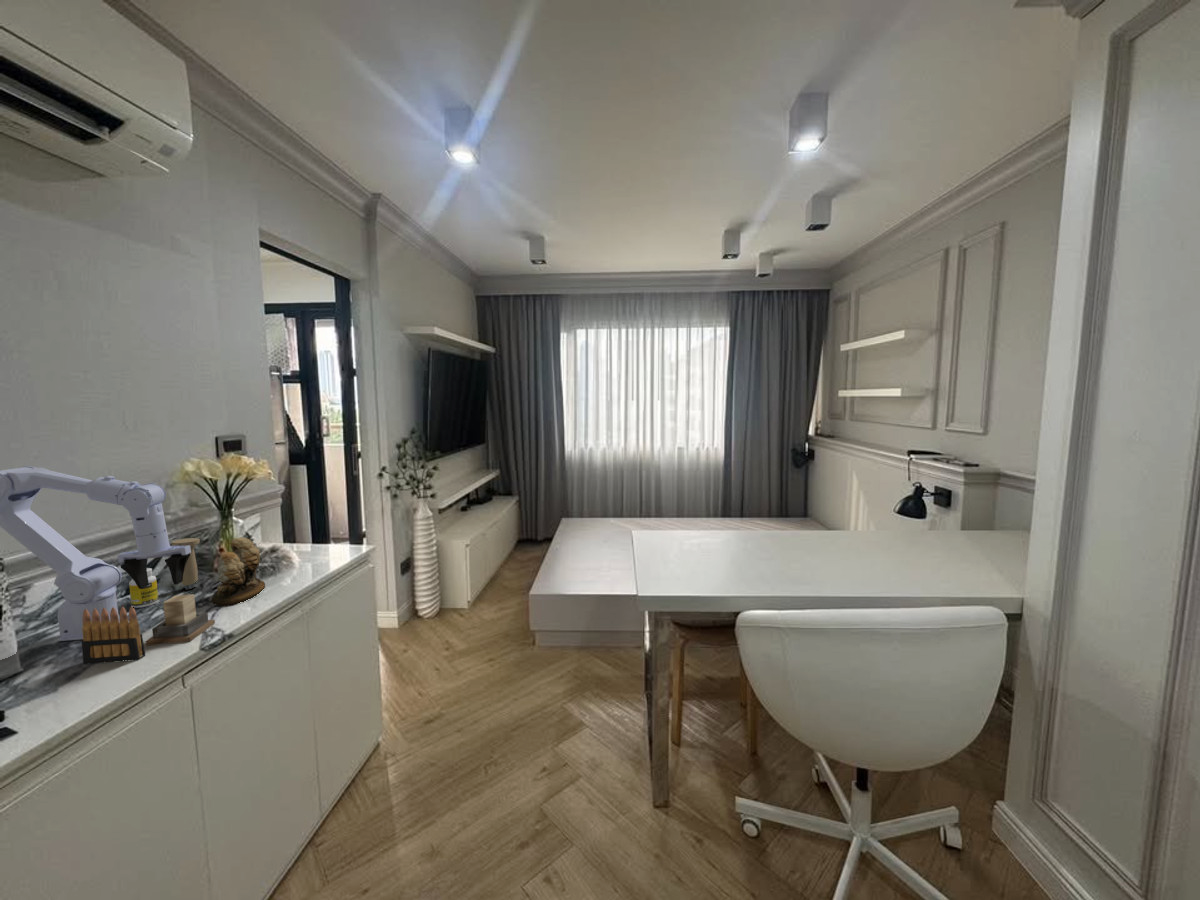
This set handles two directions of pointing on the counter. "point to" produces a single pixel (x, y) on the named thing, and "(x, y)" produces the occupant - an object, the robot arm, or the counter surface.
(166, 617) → the square peg
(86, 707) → the counter surface
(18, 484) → the robot arm
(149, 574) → the supplement bottle
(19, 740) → the counter surface
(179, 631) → the socket
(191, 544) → the handle
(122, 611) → the ammunition clip
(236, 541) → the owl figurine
